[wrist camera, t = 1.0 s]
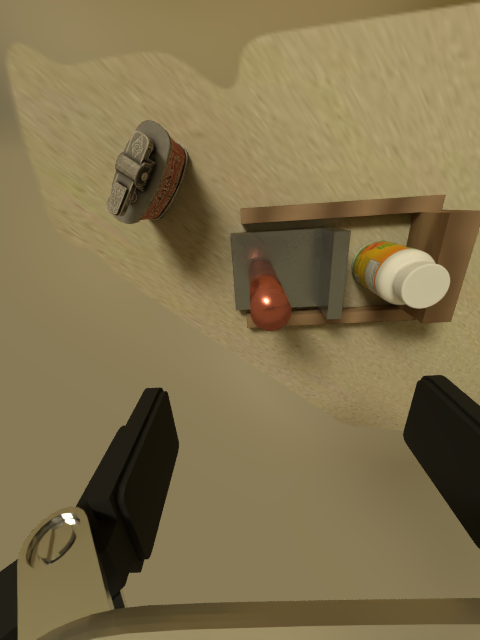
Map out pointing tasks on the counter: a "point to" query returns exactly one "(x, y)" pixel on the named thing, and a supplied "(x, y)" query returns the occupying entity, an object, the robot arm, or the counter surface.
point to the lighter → (147, 175)
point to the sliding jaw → (289, 272)
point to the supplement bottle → (400, 274)
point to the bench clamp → (425, 234)
